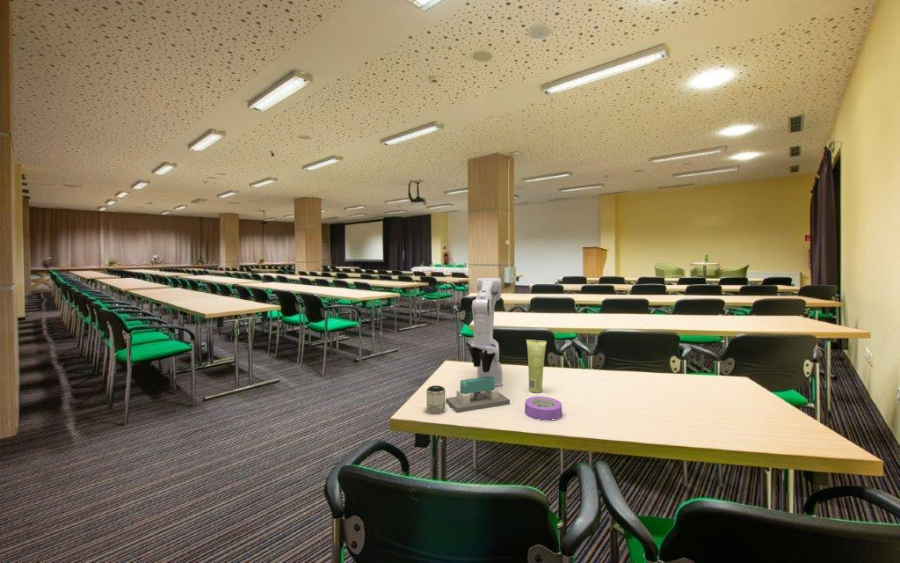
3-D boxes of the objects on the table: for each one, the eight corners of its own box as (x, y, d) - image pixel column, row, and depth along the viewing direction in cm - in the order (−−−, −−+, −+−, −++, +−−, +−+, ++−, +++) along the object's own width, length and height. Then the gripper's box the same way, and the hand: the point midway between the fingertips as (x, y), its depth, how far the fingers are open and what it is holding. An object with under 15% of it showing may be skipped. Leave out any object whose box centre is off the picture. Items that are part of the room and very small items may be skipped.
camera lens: (443, 414, 127) (443, 391, 126) (424, 413, 128) (424, 389, 127) (447, 407, 133) (446, 384, 132) (429, 406, 134) (428, 383, 134)
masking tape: (568, 413, 128) (568, 402, 127) (549, 424, 119) (549, 412, 119) (537, 404, 136) (537, 393, 136) (517, 414, 128) (518, 402, 127)
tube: (537, 387, 153) (538, 338, 151) (546, 391, 148) (546, 340, 147) (525, 389, 150) (526, 339, 149) (534, 393, 146) (534, 342, 144)
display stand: (496, 394, 145) (496, 382, 145) (509, 404, 136) (510, 391, 135) (445, 402, 138) (445, 389, 137) (456, 412, 128) (456, 399, 128)
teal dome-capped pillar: (492, 386, 140) (492, 375, 140) (496, 389, 137) (496, 378, 137) (458, 391, 135) (458, 380, 135) (462, 394, 132) (462, 382, 132)
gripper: (463, 329, 146) (463, 365, 147) (480, 336, 133) (480, 375, 133) (480, 328, 149) (480, 363, 149) (498, 334, 135) (498, 373, 136)
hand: (481, 369), depth 142 cm, fingers open, 7 cm apart
